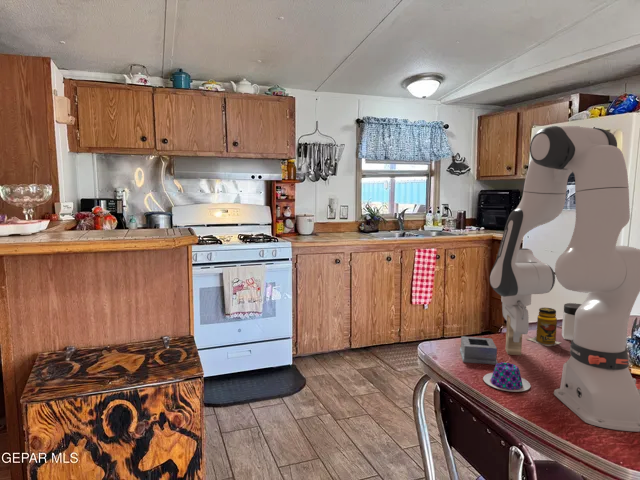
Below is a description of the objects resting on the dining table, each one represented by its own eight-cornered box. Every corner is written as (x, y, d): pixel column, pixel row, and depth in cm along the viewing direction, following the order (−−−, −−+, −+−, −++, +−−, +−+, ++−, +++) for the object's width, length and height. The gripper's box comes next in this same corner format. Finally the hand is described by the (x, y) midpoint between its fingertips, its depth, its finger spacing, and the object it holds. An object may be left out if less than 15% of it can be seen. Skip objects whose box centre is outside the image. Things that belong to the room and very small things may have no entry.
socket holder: (497, 364, 131) (498, 348, 130) (463, 362, 133) (463, 346, 133) (491, 353, 141) (492, 338, 140) (459, 350, 143) (460, 335, 142)
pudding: (533, 397, 111) (534, 377, 110) (483, 390, 115) (484, 371, 114) (527, 378, 122) (528, 360, 121) (482, 372, 126) (483, 355, 125)
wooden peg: (521, 355, 139) (523, 319, 138) (507, 354, 140) (509, 318, 138) (518, 350, 143) (520, 315, 141) (505, 349, 144) (507, 314, 142)
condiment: (548, 347, 147) (550, 312, 145) (526, 339, 154) (528, 306, 153) (561, 343, 150) (563, 310, 149) (539, 336, 157) (541, 304, 156)
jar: (571, 342, 151) (573, 309, 149) (555, 335, 159) (557, 303, 157) (594, 341, 152) (597, 308, 151) (577, 334, 160) (580, 302, 159)
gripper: (535, 306, 128) (532, 350, 130) (519, 291, 148) (517, 330, 150) (512, 305, 130) (510, 349, 131) (499, 290, 150) (497, 328, 151)
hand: (513, 338), depth 141 cm, fingers closed on wooden peg, 4 cm apart
